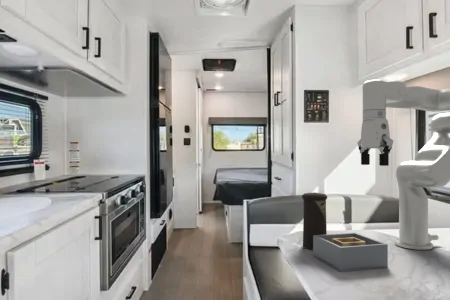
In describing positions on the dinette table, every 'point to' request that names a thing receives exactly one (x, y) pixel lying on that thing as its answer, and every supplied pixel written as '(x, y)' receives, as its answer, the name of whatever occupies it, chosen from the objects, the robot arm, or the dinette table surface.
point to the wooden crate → (348, 242)
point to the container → (313, 217)
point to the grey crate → (350, 253)
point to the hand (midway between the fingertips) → (374, 165)
